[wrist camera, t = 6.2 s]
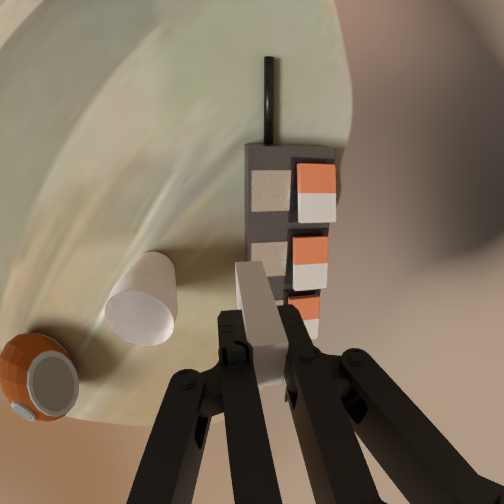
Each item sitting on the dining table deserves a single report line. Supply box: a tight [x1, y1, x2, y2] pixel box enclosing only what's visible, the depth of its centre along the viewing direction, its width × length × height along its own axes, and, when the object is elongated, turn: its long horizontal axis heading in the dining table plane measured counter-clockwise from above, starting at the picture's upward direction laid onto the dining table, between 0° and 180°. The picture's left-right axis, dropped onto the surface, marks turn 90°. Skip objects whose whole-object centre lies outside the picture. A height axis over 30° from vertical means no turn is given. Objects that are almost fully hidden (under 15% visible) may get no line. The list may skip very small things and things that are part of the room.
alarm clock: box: [0, 333, 79, 422], centre depth 39 cm, size 19×18×17 cm
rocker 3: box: [288, 294, 320, 340], centre depth 41 cm, size 7×4×1 cm, turn 0°
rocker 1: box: [297, 163, 336, 223], centre depth 33 cm, size 7×4×1 cm, turn 0°
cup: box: [105, 251, 178, 347], centre depth 36 cm, size 9×9×12 cm
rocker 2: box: [293, 236, 328, 291], centre depth 37 cm, size 7×4×1 cm, turn 0°
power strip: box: [245, 56, 336, 306], centre depth 37 cm, size 42×11×5 cm, turn 0°
